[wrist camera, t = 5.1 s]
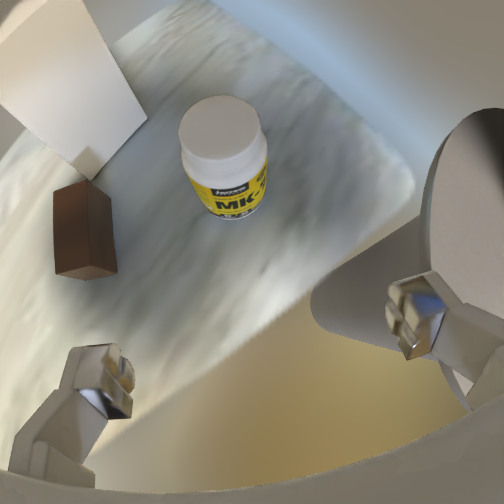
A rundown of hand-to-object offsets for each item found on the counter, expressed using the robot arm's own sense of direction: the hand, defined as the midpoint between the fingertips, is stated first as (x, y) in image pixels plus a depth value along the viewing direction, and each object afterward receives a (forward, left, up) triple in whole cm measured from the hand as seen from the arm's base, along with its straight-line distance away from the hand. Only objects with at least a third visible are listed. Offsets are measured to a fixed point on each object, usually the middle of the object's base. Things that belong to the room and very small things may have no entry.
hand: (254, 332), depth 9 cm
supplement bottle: (+4, -8, -12) cm, 15 cm away
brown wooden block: (+13, -2, -12) cm, 18 cm away
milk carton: (+18, -11, -12) cm, 24 cm away
